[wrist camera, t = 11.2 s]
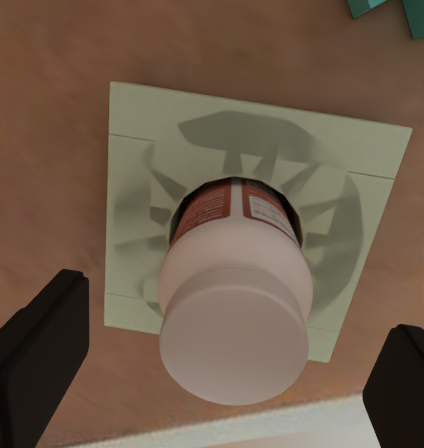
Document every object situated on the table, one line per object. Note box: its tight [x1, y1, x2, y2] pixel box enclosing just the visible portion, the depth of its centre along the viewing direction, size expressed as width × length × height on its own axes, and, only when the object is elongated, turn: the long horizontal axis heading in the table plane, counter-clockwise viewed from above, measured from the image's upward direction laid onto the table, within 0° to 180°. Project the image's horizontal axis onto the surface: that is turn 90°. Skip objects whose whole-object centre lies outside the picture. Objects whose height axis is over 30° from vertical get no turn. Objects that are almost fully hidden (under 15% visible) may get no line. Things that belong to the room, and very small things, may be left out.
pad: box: [104, 81, 413, 363], centre depth 19 cm, size 14×14×3 cm
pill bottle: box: [158, 176, 313, 405], centre depth 15 cm, size 6×6×11 cm
